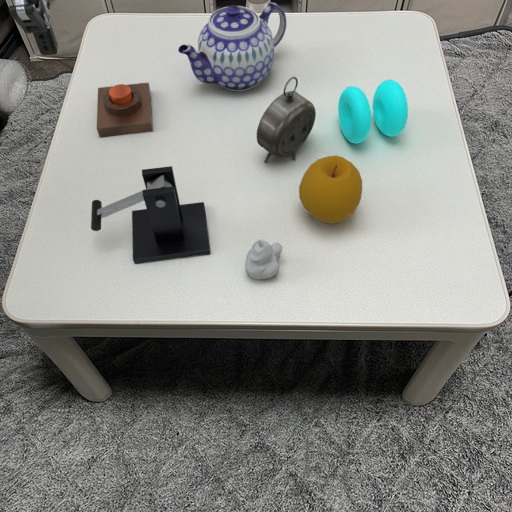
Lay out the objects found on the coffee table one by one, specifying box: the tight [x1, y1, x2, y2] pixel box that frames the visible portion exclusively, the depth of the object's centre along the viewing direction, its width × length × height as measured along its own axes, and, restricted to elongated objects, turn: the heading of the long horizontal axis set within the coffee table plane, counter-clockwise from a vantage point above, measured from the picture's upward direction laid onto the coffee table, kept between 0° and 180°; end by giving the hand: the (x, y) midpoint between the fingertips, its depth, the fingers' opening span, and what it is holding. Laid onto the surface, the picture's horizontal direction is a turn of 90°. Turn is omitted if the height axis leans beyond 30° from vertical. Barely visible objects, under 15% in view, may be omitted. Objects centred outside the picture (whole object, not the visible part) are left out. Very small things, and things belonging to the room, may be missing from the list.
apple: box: [298, 155, 363, 224], centre depth 81 cm, size 10×10×12 cm
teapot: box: [177, 2, 287, 92], centre depth 101 cm, size 25×15×15 cm, turn 125°
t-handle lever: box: [90, 175, 172, 232], centre depth 76 cm, size 13×5×2 cm, turn 99°
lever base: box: [131, 165, 211, 265], centre depth 79 cm, size 12×10×13 cm
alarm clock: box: [256, 76, 317, 164], centre depth 87 cm, size 11×5×16 cm, turn 134°
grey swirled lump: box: [245, 239, 283, 280], centre depth 77 cm, size 5×7×8 cm
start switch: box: [96, 82, 154, 138], centre depth 99 cm, size 10×12×4 cm
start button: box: [109, 83, 132, 105], centre depth 97 cm, size 4×4×2 cm
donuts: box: [337, 79, 409, 144], centre depth 93 cm, size 10×10×10 cm
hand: (50, 51), depth 69 cm, fingers closed
